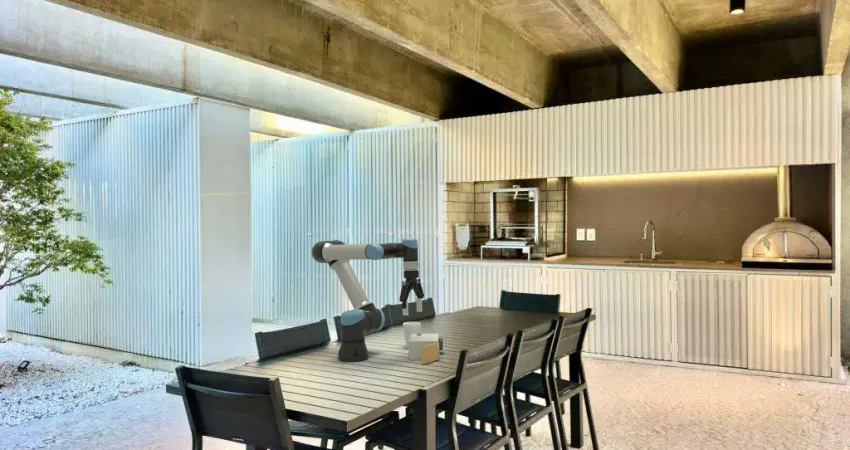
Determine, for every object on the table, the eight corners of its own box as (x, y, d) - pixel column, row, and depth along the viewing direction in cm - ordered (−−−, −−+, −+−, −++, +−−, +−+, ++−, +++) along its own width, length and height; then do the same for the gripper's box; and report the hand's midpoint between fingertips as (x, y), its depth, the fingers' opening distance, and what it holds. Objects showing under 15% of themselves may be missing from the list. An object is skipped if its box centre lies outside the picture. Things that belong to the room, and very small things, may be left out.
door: (440, 359, 288) (439, 342, 288) (423, 364, 278) (423, 347, 278) (437, 359, 289) (437, 342, 289) (421, 364, 279) (421, 346, 279)
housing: (442, 359, 289) (441, 339, 289) (409, 359, 290) (408, 339, 290) (443, 351, 309) (442, 332, 309) (412, 351, 310) (411, 332, 310)
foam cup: (422, 345, 324) (421, 321, 324) (420, 349, 315) (419, 324, 315) (404, 345, 325) (404, 321, 325) (402, 349, 315) (401, 324, 316)
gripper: (404, 271, 280) (406, 317, 280) (429, 268, 302) (431, 310, 302) (391, 271, 284) (392, 316, 284) (416, 268, 306) (418, 309, 306)
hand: (412, 313), depth 293 cm, fingers open, 13 cm apart
